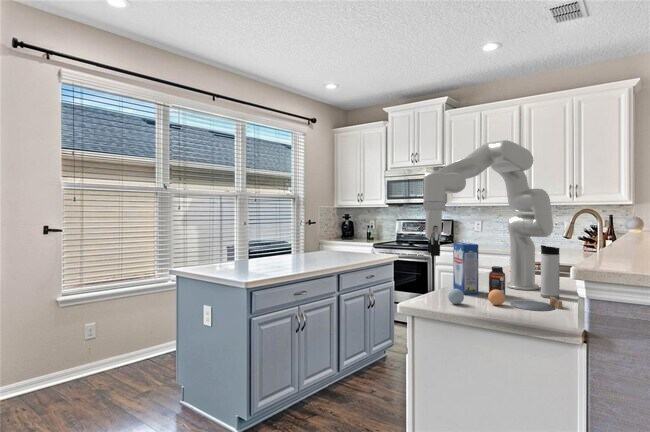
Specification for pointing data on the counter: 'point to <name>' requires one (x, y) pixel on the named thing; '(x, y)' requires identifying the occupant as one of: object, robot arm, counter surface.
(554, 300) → the rail
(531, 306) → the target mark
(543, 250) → the travel mug
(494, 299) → the orange ball
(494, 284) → the supplement bottle
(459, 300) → the light blue ball
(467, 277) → the milk carton
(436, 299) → the counter surface
